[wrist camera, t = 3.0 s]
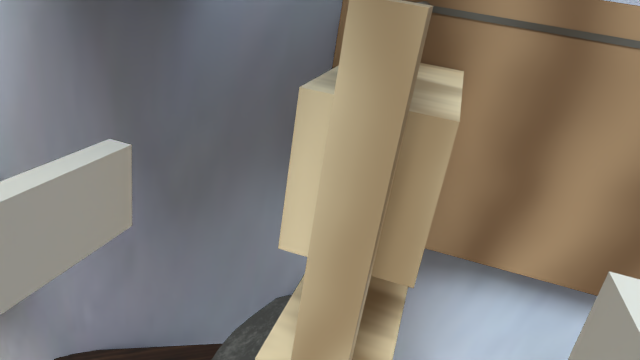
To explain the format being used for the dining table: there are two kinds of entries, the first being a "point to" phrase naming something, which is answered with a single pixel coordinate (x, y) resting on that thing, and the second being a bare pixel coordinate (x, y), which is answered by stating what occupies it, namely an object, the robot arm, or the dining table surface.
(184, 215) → the dining table surface
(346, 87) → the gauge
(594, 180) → the board
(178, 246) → the dining table surface
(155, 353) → the hammer
